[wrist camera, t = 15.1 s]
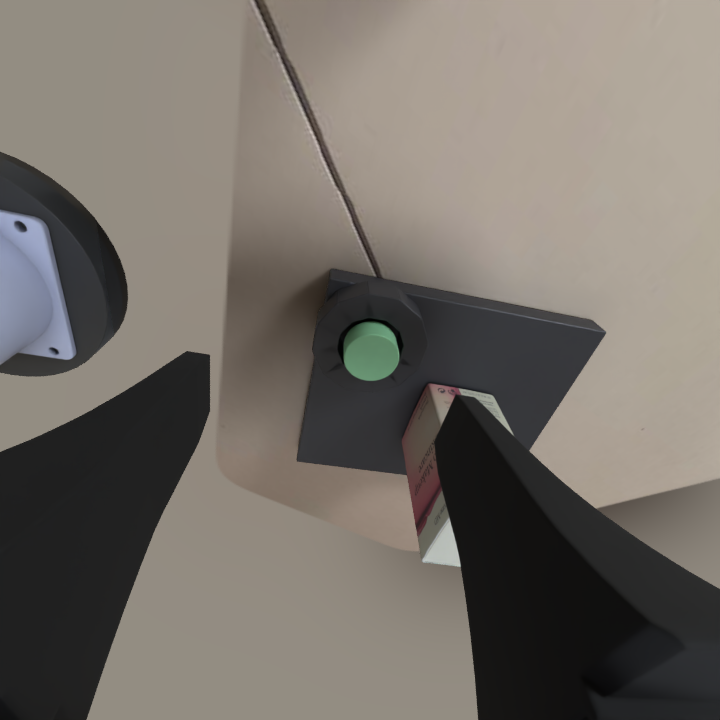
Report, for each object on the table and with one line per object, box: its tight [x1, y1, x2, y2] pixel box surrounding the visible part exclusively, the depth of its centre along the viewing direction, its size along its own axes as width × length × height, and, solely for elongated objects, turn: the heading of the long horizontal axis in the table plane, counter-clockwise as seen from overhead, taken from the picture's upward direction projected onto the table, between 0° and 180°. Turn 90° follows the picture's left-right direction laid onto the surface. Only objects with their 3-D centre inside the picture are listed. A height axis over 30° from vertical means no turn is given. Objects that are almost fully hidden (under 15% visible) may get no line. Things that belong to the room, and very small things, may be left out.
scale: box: [297, 269, 606, 475], centre depth 22 cm, size 15×13×3 cm
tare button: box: [344, 321, 399, 381], centre depth 18 cm, size 3×3×1 cm
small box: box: [402, 383, 514, 567], centre depth 20 cm, size 5×4×8 cm
